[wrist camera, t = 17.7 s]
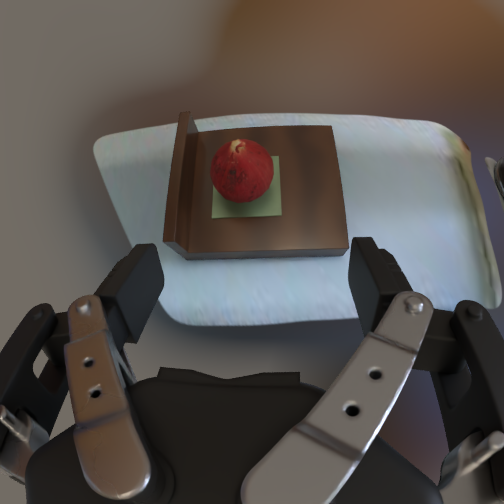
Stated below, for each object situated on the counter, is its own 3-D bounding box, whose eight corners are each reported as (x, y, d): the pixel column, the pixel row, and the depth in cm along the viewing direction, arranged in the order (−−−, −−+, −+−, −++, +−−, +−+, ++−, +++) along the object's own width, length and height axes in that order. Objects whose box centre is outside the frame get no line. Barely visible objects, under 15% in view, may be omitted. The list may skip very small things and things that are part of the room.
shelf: (328, 139, 34) (336, 103, 27) (343, 255, 30) (359, 235, 23) (195, 146, 36) (179, 112, 29) (186, 260, 32) (162, 242, 25)
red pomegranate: (263, 222, 29) (256, 184, 21) (210, 205, 30) (187, 165, 22) (282, 173, 30) (281, 125, 22) (231, 159, 31) (217, 112, 23)
